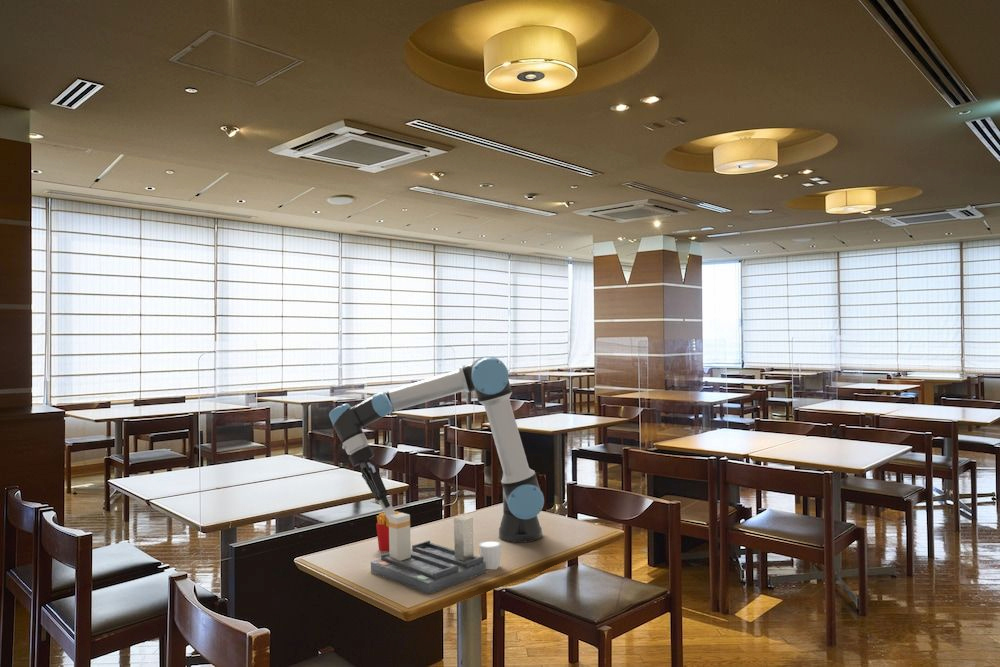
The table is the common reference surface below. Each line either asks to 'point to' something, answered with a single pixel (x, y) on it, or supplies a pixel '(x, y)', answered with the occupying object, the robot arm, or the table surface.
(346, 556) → the table surface
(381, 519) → the french fries
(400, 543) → the handle
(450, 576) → the breaker panel
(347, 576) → the table surface
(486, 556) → the white short cylinder
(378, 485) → the robot arm
